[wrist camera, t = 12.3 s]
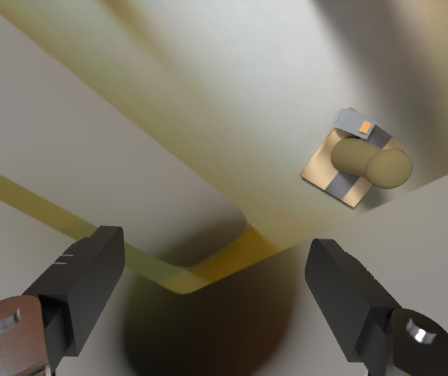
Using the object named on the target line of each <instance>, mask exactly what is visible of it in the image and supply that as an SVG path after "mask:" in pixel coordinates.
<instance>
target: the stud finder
mask: <svg viewBox="0 0 448 376" xmlns="http://www.w3.org/2000/svg"><path fill="white" fill-rule="evenodd" d="M376 122H377V121H376V120H374V119H372V118H369V117H367V116H365V115H362V114H360V113H358V112H355V111H353V110H351V109H342V110H341V112H340V114H339V116H338V117H337V119H336V121H335V123H334V125H333V127H334V128H336V129H338V130H341V131H343V132H346V133H348V134H351V135H353V136H356V137H358V138H362V139H366V140H367V138H368V136H369V134H370V133H371V131H372V129H373V127H374V125H375V124H376Z"/></svg>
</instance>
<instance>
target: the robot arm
mask: <svg viewBox="0 0 448 376" xmlns="http://www.w3.org/2000/svg"><path fill="white" fill-rule="evenodd" d="M124 264H125V252H124V237H123V229H122V228H121V227H116V226H100V227H99V228H98V229H97V230H96V231H95V232H94V233H93V234H92V235H91V237H90V238H89V237H84V238H83V239H81V240H79V241H77V242H76V243H74V244H72V245H71V246H70V247H69V248H68V249H67V250H66V251H65V252H64V253H63V254H62V256H60V257H59V258H58V259H57V260H56V261H55V262H54V264H52V265H51V266H50V267H49V268H48V269H47V270H46V271H45V272H44V273H43V274H42V275H41V276H40V277H39V278H38V279H37V280H36V281H35V282H34V283H33V284H32V285H31V286H30V287H29V288H28V289H27V290H26V291H25V292H24V293H23V294H22V295H17V296H13V297H9V298H5V299H3V300H0V376H57V373H56V368H57V366H58V365H59V363H60V361H61V359H62V358H63V356H73V357H78V356H79V353H80V352H81V350H82V348H83V346H84V344H85V342H86V341H87V339H88V337H89V335H90V333H91V331H92V329H93V327H94V326H95V324H96V322H97V320H98V318H99V316H100V314H101V312H102V311H103V309H104V307H105V305H106V303H107V301H108V299H109V297H110V296H111V294H112V292H113V290H114V288H115V286H116V284H117V282H118V281H119V279H120V277H121V275H122V272H123V269H124ZM305 278H306V282H307V284H308V286H309V288H310V290H311V292H312V294H313V296H314V298H315V300H316V302H317V304H318V305H319V307H320V309H321V311H322V313H323V315H324V317H325V319H326V320H327V323H328V324H329V326H330V328H331V330H332V332H333V334H334V336H335V338H336V340H337V342H338V344H339V345H340V347H341V349H342V351H343V353H344V355H345V357H346V358H347V361H348V362H363V363H364V364H365V366H366V368H367V369H366V371H365V374H364V376H448V333H447V332H446V331H445V330H444V329H443V328H442V327H441V326H440V325H439V324H437V323H436V322H435V321H433V320H432V319H430V318H429V317H427V316H425V315H423V314H421V313H419V312H416V311H414V310H411V309H406V308H402V307H401V306H400V305H399V304H398V303H397V301H396V300H395V299H394V298H393V297H392V296H391V295H390V294H389V293H388V292H387V291H386V290H385V289H384V287H383V286H382V285H381V284H380V283H379V282H378V281H377V280H376V279H374V277H373V276H372V275H371V273H370V272H369V271H367V269H366V268H365V267H364V266H363V265H362V264H361V263H360V262H359V261H358V260H357V259H356V258H354V257H353V256H351V255H350V254H348V253H347V252H345V251H344V250H343V249H342V248H341V247H340V246H339V245H338V244H337V243H336V241H334V240H333V239H317V238H316V239H314V240H313V241H312V244H311V247H310V251H309V255H308V259H307V263H306V266H305Z"/></svg>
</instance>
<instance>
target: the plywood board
mask: <svg viewBox="0 0 448 376" xmlns="http://www.w3.org/2000/svg"><path fill="white" fill-rule="evenodd" d="M347 109H351V110H353V111H355V110H354V109H353V108H347ZM355 112H357V111H355ZM349 136H353V135H351V134H348V133H346V132H343V131H341V130H338V129H336V128H334V127H333V129H332V130H331V132H330V133H329V134H328V136H327V137H326V139H325V140H324V141H323V143H322V144H321V146H320V147H319V148H318V150H317V151H316V153H315V154H314V155H313V157H312V158H311V160H310V161H309V162H308V164H307V165H306V167H305V168H304V169H303V171H302V172H301V174H300V175H301V176H302V177H303V178H305V179H307V180H308V181H310V182H312V183H313V184H315V185H317V186H318V187H320V188H322V189H323V190H325V191H327V192H328V193H330V194H332V195H333V196H335V197H337V198H338V199H340V200H342V201H343V202H345V203H347V204H348V205H350V206H352V207H355V206H356V204H357V203H358V202H359V201H360V200H361V198H362V197H363V196H364V195H365V194H366V192H367V191H368V190H369V189H370V188H371V186H372V184H371V183H370V182H369V181H368V180H367V178H364V177H360V176H357V175H353V174H349V173H346V172H342V171H339V170H337V169H336V168H334V167H333V165H332V163H331V158H330V157H331V151H332V149H333V147H334V146H335V145H336V143H337V142H338V141H340V140H341V139H343V138H346V137H349ZM355 137H356V136H355ZM357 138H358V137H357ZM360 139H362V138H360ZM362 140H364V141H366V142H368V143H370V144H372V145H374V146H376V147H378V148H380V149H382V150H384V149H396V150H399V151H401V150H402V149H403V148H404V147H405V146H404V145H403V144H401V143H400V142H399V141H397V140H396V139H394V138H393V137H392V136H390V135H389V134H387V133H386V132H385V131H383V130H382V129H380V128H379V127H378V126H376V125H374V127H373V129H372V131H371V133H370V134H369V136H368V138H367V140H366V139H362Z"/></svg>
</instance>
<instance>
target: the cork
mask: <svg viewBox="0 0 448 376" xmlns="http://www.w3.org/2000/svg"><path fill="white" fill-rule="evenodd" d="M330 158H331V163H332V165H333V167H334V168H336V169H337V170H339V171H342V172H346V173H349V174H353V175H357V176H360V177H364V178H367V180H368V181H369V182H370V183H371V184H372V185H374V186H376V187H378V188H382V189H392V188H395V187H398V186H400V185H402V184H403V183H405V182H406V181H407V180H408V178H409V177H410V175H411V172H412V162H411V160H410V158H409V156H407V155H406V154H405V153H404V152H402V151H399V150H396V149H384V150H382V149H380V148H378V147H376V146H374V145H372V144H370V143H368V142H366V141H364V140H362V139H360V138H357V137H355V136H349V137H346V138H343V139H341V140H340V141H338V142H337V143H336V145H335V146H334V147H333V149H332V151H331V157H330Z"/></svg>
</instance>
